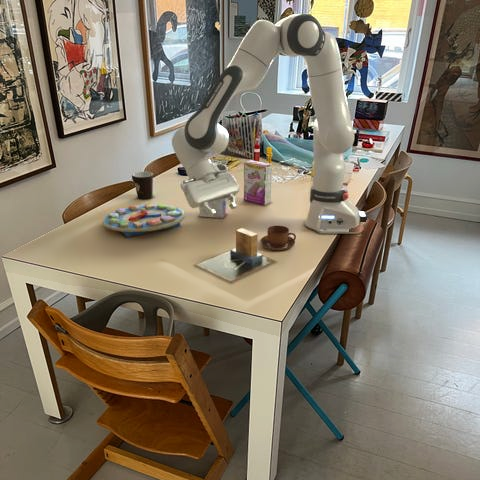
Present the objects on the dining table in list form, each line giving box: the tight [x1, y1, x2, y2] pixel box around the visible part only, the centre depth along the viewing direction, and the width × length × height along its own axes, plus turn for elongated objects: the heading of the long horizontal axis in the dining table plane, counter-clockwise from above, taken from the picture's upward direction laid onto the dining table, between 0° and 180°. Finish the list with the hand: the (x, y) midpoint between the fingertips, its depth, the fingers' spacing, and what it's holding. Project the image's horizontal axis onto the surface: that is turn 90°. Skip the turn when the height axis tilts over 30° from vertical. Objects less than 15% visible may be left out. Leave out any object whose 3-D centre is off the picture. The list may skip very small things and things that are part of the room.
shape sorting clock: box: [102, 203, 185, 238], centre depth 182 cm, size 31×30×6 cm
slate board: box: [195, 250, 275, 282], centre depth 154 cm, size 20×16×1 cm
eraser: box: [229, 227, 264, 265], centre depth 155 cm, size 10×5×9 cm, turn 45°
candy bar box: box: [243, 159, 273, 206], centre depth 201 cm, size 11×5×16 cm, turn 53°
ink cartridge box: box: [198, 198, 227, 219], centre depth 188 cm, size 10×6×14 cm, turn 78°
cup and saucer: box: [260, 225, 297, 251], centre depth 165 cm, size 12×12×6 cm
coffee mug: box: [131, 171, 154, 201], centre depth 209 cm, size 12×9×10 cm
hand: (224, 211), depth 156 cm, fingers open, 8 cm apart
